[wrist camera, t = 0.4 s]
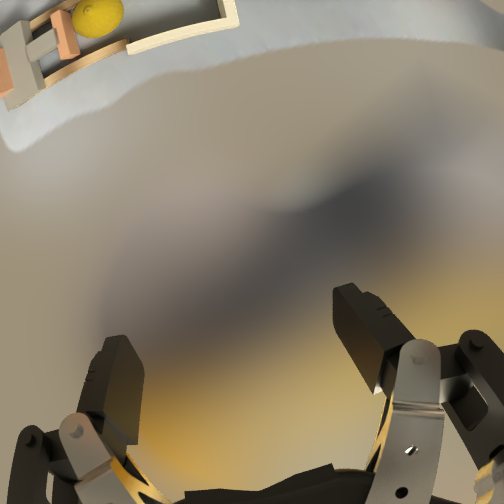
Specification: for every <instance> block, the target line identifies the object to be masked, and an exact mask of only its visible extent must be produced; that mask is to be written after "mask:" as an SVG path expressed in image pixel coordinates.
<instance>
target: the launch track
mask: <svg viewBox="0 0 504 504" xmlns="http://www.w3.org/2000/svg"><path fill="white" fill-rule="evenodd" d="M81 1H82V0H66V1H64V2H62V3H60V4H58V5H57V6H55V7H53V8H51V9H50V10H48V11H46V12H45V13H43V14H42V15H40V16H38V17H37V18H35V19H34V20H32V21H31V22H29V23H30V28H31V33H32V32H34V31H35V30H37V29H38V28H40V27H42V26H43V25H45V24H46V23H48V22H50V21H51V17H50V15H51V14H53V13H54V12H56V11H58V10H62V11H65V12H67V11H69V10H71V9H73V8H75V7H76V6H77V5H78V4H79V3H80V2H81ZM128 44H130V41H129V39H128V38H125V39H123V40H120V41H118V42H115V43H113V44H111V45H108V46H106V47H104V48H101V49H99V50H97V51H95V52H93V53H91V54H89V55H87V56H84V57H82V58H80V59H79V60H77V61H75V62H73V63H71V64H69V65H67V66H65V67H64V68H62V69H60V70H58V71H57V72H55V73H53V74H51V75H50V76H48V77H46V78H45V79H44V82H45V85H46V88H48V87H50V86H51V85H53V84H55V83H57V82H58V81H60V80H62V79H64V78H65V77H67V76H69V75H71V74H73V73H75V72H77V71H79V70H80V69H82V68H84V67H86V66H89V65H91V64H93V63H95V62H97V61H99V60H101V59H104V58H106V57H108V56H110V55H113V54H115V53H118V52H120V51H123V50H125V49H127V48H126V45H128ZM46 88H45V89H46ZM45 89H43V90H45ZM43 90H42V91H43ZM42 91H40V92H42ZM40 92H39V93H40ZM37 94H38V93H37ZM37 94H36V95H37ZM34 96H35V95H34ZM34 96H33V97H34ZM31 98H32V97H31ZM31 98H30V99H31ZM28 100H29V99H28ZM28 100H27V101H28ZM25 102H26V101H25ZM25 102H24V103H25ZM22 104H23V103H22ZM22 104H21V105H22ZM21 105H19V106H21ZM19 106H18V107H19Z"/></svg>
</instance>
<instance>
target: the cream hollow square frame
mask: <svg viewBox="0 0 504 504" xmlns="http://www.w3.org/2000/svg"><path fill="white" fill-rule="evenodd" d="M217 3H218V8H219V12H220V16H221V19H216V20H211V21H206V22H201V23H197V24H193V25H188V26H184V27H181V28H177V29H173V30H170V31H166V32H163V33H160V34H156V35H153V36H150V37H147V38H144V39H141V40H139V41H136V42H133V43H130V44H128V45H126V48H127V52H128V54H129V55H134V54H137V53H140V52H142V51H145V50H148V49H151V48H154V47H157V46H160V45H164V44H167V43H170V42H174V41H177V40H181V39H185V38H189V37H193V36H197V35H201V34H206V33H210V32H215V31H220V30H226V29H232V28H235V27H237V26H239V25H240V24H239V20H238V15H237V10H236V6H235V2H234V0H217Z"/></svg>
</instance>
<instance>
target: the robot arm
mask: <svg viewBox="0 0 504 504" xmlns="http://www.w3.org/2000/svg"><path fill="white" fill-rule="evenodd" d="M333 325H334V328H335V331H336V333H337V335H338V337H339V338H340V340H341V341H342V343H343V345H344V347H345V348H346V350H347V351H348V353H349V355H350V356H351V358H352V360H353V361H354V363H355V365H356V366H357V368H358V370H359V372H360V373H361V375H362V377H363V378H364V380H365V382H366V383H367V385H368V387H369V388H370V390H371V392H372V394H373V395H374V394H376V393H378V392H381V391H383V392H384V394H385V395H386V399H385V402H384V407H383V411H382V415H381V419H380V423H379V427H378V430H377V434H376V438H375V441H374V444H373V447H372V450H371V452H370V455H369V458H368V461H367V463H366V466H365V469H364V470H358V469H335V470H334V468H333V465H332V463H331V464H328V465H325V466H322V467H318V468H315V469H312V470H309V471H305V472H302V473H298V474H295V475H293V476H291V477H289V478H287V479H285V480H283V481H281V482H279V483H277V484H274V485H272V486H270V487H268V488H265V489H263V490H260V491H243V490H229V489H210V490H198V491H185V499H183V500H180V501H177V502H175V503H172V502H171V501H170V500H168V499H167V498H166V497H165V496H164V495H162V494H161V493H160V492H159V491H158V490H157V489H156V488H155V487H154V486H153V485H152V484H151V482H150V481H149V480H148V479H147V477H146V476H145V475H144V474H143V472H142V471H141V470H140V469H139V468H138V466H137V465H136V464H135V462H134V461H133V459H132V458H131V457H130V455H129V454H128V453H127V452H126V448H127V445H138V432H139V421H140V409H141V400H142V391H143V383H144V367H143V364H142V362H141V360H140V358H139V357H138V355H137V353H136V351H135V350H134V348H133V346H132V345H131V343H130V341H129V339H128V338H127V336H125V335H118V336H112V337H107V338H106V339H105V341H104V345H103V348H102V351H99V352H98V353H97V354H96V355H95V357H94V358H93V359H92V361H91V363H90V366H89V370H88V374H87V376H86V379H85V380H86V382H84V386H83V389H82V392H81V396H80V400H79V403H78V407H77V411H76V413H73V414H70V415H68V416H67V417H66V418H65V419H64V420H63V421H62V423H61V425H60V427H59V429H58V430H54V431H50V432H47V433H44V432H43V431H42V430H41V429H40V428H38V427H37V426H35V425H30V426H27V427H25V428H24V429H23V430H22V431H21V433H20V434H19V437H18V441H17V444H16V449H15V453H14V458H13V463H12V468H11V474H10V481H9V487H8V496H7V504H50V503H49V501H48V500H47V498H46V483H47V475H48V472H49V473H51V474H52V475H54V481H53V492H52V504H460V503H457V502H453V501H449V500H446V499H442V498H439V497H436V496H433V495H431V494H432V490H433V486H434V482H435V477H436V473H437V468H438V462H439V456H440V451H441V444H442V436H443V428H444V410H443V409H440V408H439V403H441V405H442V406H443V408H444V409H445V411H446V413H447V414H448V416H449V418H450V420H451V421H452V423H453V424H454V426H455V428H456V430H457V431H458V433H459V435H460V437H461V439H462V440H463V442H464V444H465V446H466V447H467V450H468V451H469V453H470V455H471V457H472V459H473V461H474V463H475V465H476V466H477V468H478V473H477V476H476V479H475V485H474V491H475V492H476V493H477V500H476V503H475V504H504V353H503V352H502V351H501V350H500V348H499V347H498V346H497V345H496V344H495V343H494V342H493V341H492V339H491V338H490V337H489V336H488V335H487V334H485V333H484V332H482V331H479V330H468V331H466V332H464V333H463V334H462V335H461V337H460V339H459V342H458V343H457V344H452V345H447V346H442V347H437V346H436V345H434V344H433V343H431V342H430V341H427V340H423V339H416V338H415V337H414V336H413V335H412V334H411V333H410V332H409V330H408V329H407V328H406V327H405V326H404V325H403V324H402V322H400V320H399V319H398V318H397V317H396V316H395V314H393V313H392V311H391V310H390V309H389V308H388V307H387V306H386V305H385V303H384V302H383V301H382V300H381V299H380V298H379V297H378V296H375V295H374V294H372V293H370V292H364V293H362V292H361V291H360V290H359V289H358V287H357V286H356V285H355V284H354V283H349V284H345V285H342V286H339V287H335V288H334V289H333ZM474 385H475V386H476V387H477V389H478V390H479V391H480V393H481V394H482V396H483V397H484V399H485V400H486V402H487V404H488V405H487V404H486V402H485V401H484V400H483V398H482V397H481V395H480V394H479V392H478V391H477V389H476V388H475V387H474Z"/></svg>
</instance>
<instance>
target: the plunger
mask: <svg viewBox="0 0 504 504" xmlns="http://www.w3.org/2000/svg"><path fill="white" fill-rule="evenodd" d="M50 17H51V22H52V26H53V29H51V30H49V31H48V32H46V33H44V34H43V35H41V36H40V37H38V38H37V39H35V40H34V41H33V37H32V33H31V28H30V23H29V21H25V20H20V21H18V22H17V23H16V24H14V25H13V26H11V27H10V28H9V29H8V30H6V31H5V32H4V33H2V34H1V35H0V98H1V97H3V98H4V101H5V104H6V107H7V110H8V111H10V110H12V109H14V108H17V107H18V106H19V105H21V104H22V103H24V102H25V101H27V100H28V99H30V98H31V97H33V96H34V95H36V94H37V93H39V92H40V91H42V90H43V89H45V88H46V85H45V82H44V78H43V75H42V72H41V68H40V65H39V61H38V60H39V59H40V58H42V57H43V56H45V55H46V54H48V53H50V52H51V51H53V50H55V49H57V48H58V51H59V54H60V58H61V60H62V59H73V58H74V57H76V56H78V55H80V50H79V46H78V43H77V39H76V35H75V31H74V28H73V25H72V18H71V14H70V13H68V12H65V11H62V10H58V11H56V12H54V13H53V14H51V15H50Z"/></svg>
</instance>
